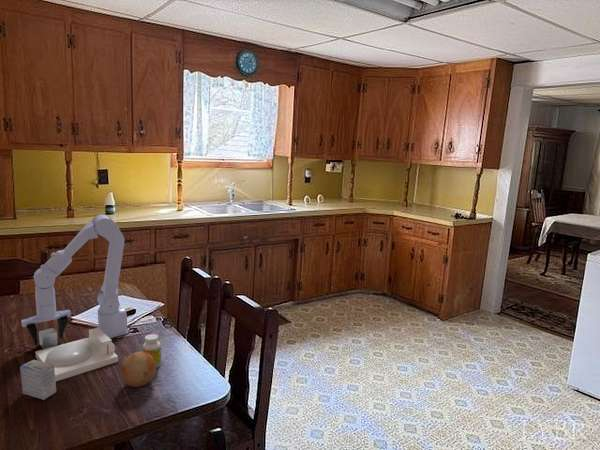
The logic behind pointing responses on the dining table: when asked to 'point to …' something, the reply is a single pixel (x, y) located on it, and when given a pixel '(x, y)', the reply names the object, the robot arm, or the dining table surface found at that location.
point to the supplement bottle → (153, 348)
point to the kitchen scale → (80, 355)
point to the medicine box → (38, 379)
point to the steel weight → (48, 338)
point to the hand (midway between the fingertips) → (48, 340)
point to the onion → (138, 369)
